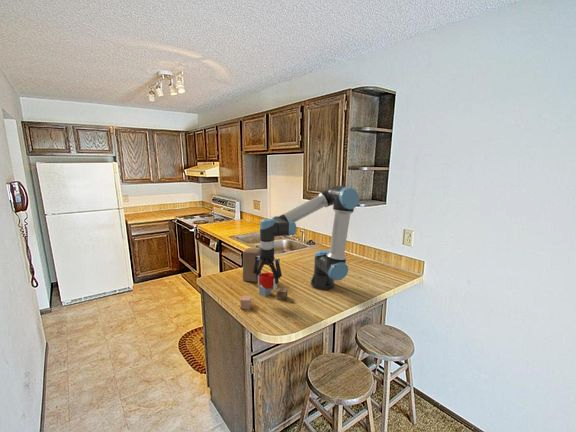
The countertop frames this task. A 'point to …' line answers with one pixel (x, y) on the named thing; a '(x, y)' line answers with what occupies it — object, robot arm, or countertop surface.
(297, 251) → the countertop surface
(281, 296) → the walnut cube
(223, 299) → the countertop surface
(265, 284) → the apple
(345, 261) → the robot arm
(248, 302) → the terracotta cube
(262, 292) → the slate-blue cube
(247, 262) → the wooden block
